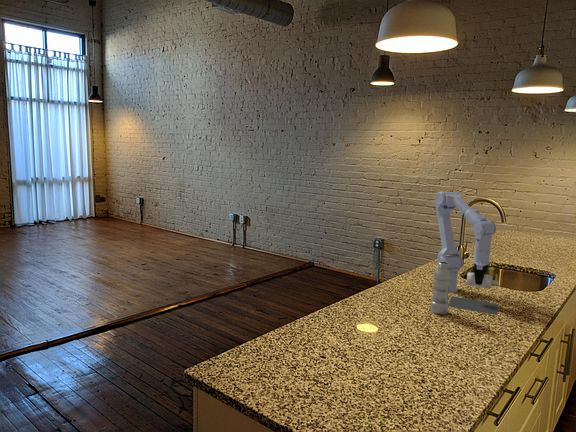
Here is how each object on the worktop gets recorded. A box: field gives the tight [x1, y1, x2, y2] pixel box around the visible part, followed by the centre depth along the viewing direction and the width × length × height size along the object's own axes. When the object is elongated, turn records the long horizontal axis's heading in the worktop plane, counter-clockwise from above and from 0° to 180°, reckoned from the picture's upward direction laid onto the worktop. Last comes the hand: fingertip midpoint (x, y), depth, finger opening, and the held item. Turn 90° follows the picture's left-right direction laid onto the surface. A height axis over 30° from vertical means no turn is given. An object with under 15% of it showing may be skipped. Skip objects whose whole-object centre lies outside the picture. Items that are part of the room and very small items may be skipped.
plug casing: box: [466, 271, 500, 289], centre depth 180 cm, size 12×4×4 cm, turn 63°
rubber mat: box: [448, 295, 499, 316], centre depth 179 cm, size 18×14×1 cm
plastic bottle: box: [429, 262, 452, 315], centre depth 168 cm, size 6×7×20 cm
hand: (478, 282), depth 181 cm, fingers closed on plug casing, 4 cm apart
